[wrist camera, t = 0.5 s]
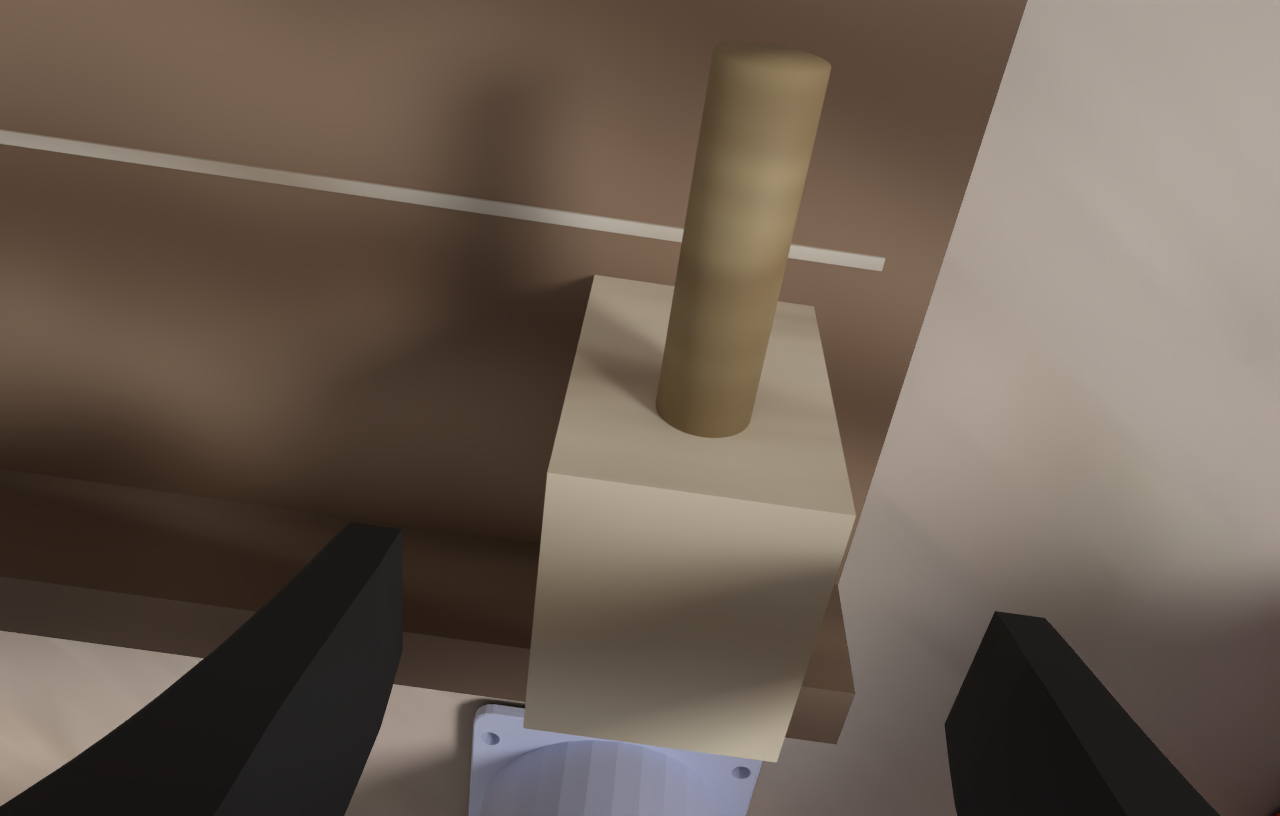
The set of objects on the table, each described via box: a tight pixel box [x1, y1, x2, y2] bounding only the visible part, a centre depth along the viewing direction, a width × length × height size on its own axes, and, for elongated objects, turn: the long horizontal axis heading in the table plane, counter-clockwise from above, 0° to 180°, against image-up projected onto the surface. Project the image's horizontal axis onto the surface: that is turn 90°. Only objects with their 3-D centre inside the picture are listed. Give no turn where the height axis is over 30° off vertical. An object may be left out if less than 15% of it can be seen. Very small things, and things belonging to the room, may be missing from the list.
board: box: [0, 0, 1027, 744], centre depth 17 cm, size 14×24×5 cm, turn 83°
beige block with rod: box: [523, 41, 856, 763], centre depth 15 cm, size 10×4×6 cm, turn 173°
